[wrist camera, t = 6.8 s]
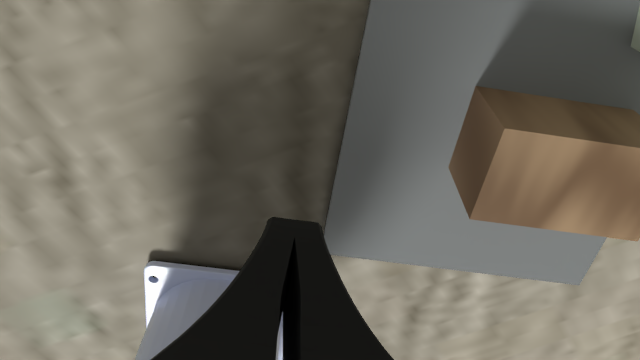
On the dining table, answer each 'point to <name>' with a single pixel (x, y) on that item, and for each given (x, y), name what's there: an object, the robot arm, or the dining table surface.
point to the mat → (447, 119)
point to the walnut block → (549, 164)
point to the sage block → (636, 34)
